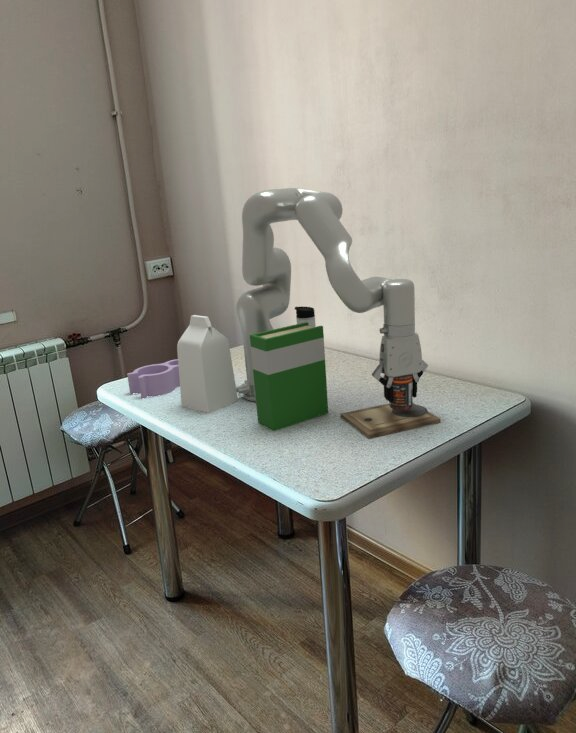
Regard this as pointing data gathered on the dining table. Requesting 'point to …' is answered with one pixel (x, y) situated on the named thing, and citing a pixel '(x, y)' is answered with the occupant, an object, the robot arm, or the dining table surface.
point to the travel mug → (305, 315)
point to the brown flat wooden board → (388, 419)
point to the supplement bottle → (402, 393)
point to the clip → (155, 379)
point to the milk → (205, 367)
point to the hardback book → (289, 375)
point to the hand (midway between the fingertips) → (400, 397)
